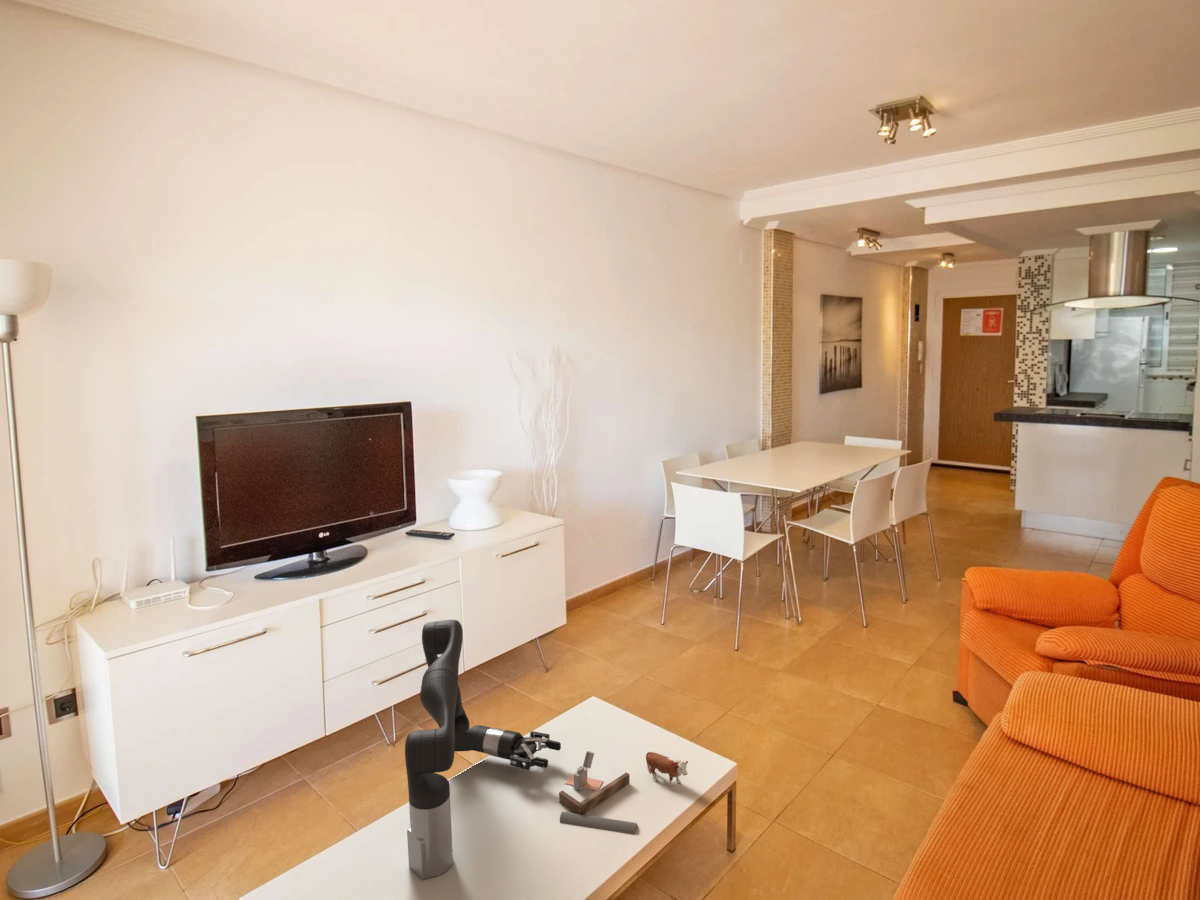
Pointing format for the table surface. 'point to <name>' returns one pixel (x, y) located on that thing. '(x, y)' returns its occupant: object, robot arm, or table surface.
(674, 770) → the bull figurine
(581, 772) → the lighter
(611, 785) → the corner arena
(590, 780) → the pad
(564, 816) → the gray half cylinder
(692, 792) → the table surface
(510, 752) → the robot arm
